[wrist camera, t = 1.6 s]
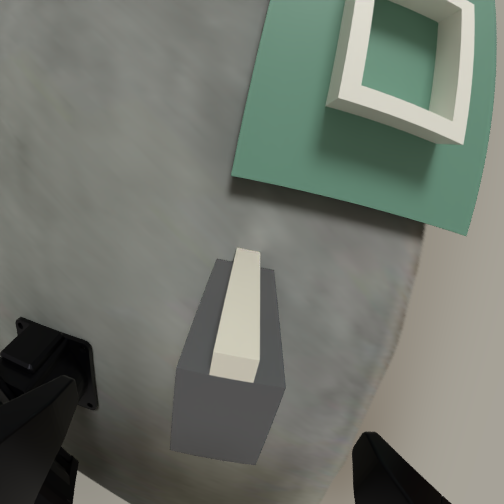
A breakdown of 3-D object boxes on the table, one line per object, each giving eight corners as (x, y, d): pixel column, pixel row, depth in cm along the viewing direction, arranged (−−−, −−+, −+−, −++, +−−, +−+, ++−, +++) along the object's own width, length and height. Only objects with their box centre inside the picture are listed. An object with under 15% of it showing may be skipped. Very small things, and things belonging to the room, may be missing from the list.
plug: (258, 334, 18) (255, 465, 9) (205, 324, 18) (170, 449, 9) (277, 255, 17) (293, 365, 8) (219, 244, 16) (178, 344, 8)
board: (457, 231, 16) (491, 249, 13) (232, 174, 15) (225, 180, 12) (486, 1, 11) (516, -14, 8) (292, -77, 11) (297, -111, 7)
